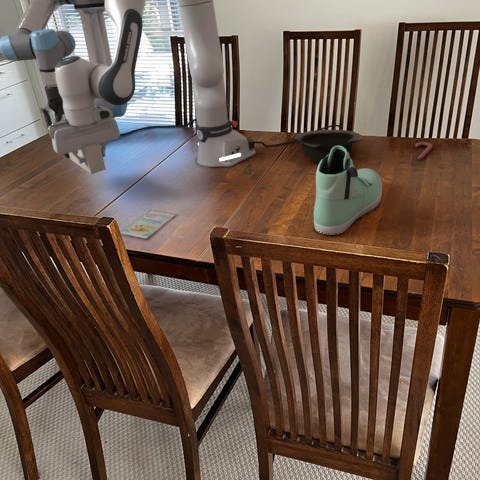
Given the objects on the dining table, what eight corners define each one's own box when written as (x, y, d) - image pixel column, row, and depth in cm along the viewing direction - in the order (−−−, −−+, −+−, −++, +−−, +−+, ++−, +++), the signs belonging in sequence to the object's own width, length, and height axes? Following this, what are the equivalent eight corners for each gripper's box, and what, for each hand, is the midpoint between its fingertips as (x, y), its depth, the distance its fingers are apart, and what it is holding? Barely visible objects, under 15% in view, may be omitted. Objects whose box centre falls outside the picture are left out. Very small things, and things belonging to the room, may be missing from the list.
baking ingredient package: (120, 232, 135) (151, 209, 146) (120, 233, 135) (151, 210, 146) (145, 237, 131) (175, 214, 143) (146, 239, 131) (175, 215, 143)
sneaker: (389, 187, 148) (396, 123, 138) (356, 242, 123) (361, 168, 112) (346, 181, 154) (350, 119, 144) (306, 232, 129) (307, 161, 118)
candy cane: (403, 158, 167) (404, 154, 167) (417, 144, 177) (418, 140, 177) (421, 161, 164) (421, 157, 163) (434, 146, 174) (435, 142, 173)
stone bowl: (320, 174, 160) (319, 147, 155) (281, 157, 180) (279, 132, 176) (378, 156, 168) (378, 130, 164) (334, 141, 189) (333, 118, 184)
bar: (65, 155, 162) (58, 131, 158) (78, 151, 165) (72, 128, 160) (91, 174, 147) (84, 148, 142) (105, 169, 149) (100, 144, 145)
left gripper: (31, 92, 142) (52, 165, 154) (88, 79, 151) (104, 150, 163) (23, 88, 147) (45, 159, 159) (79, 76, 156) (95, 144, 168)
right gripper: (50, 126, 134) (63, 172, 141) (117, 109, 144) (125, 153, 151) (42, 122, 138) (55, 166, 146) (108, 106, 148) (117, 148, 156)
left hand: (75, 154), depth 161 cm, fingers closed on bar, 5 cm apart
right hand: (92, 159), depth 148 cm, fingers open, 5 cm apart
